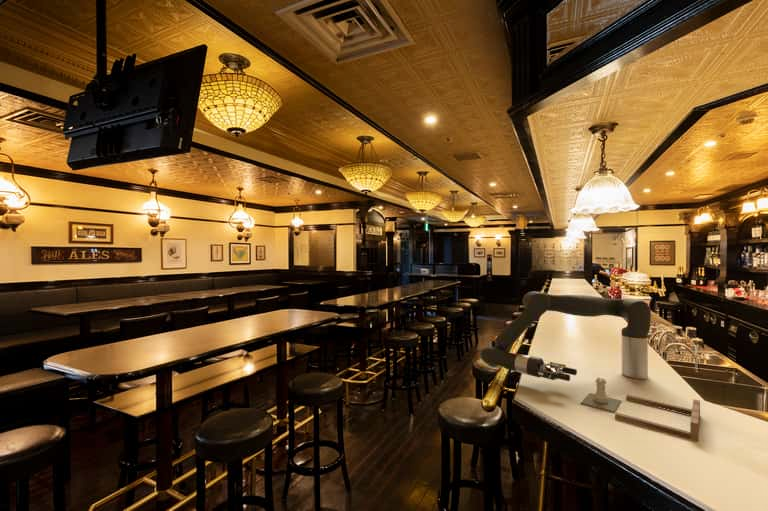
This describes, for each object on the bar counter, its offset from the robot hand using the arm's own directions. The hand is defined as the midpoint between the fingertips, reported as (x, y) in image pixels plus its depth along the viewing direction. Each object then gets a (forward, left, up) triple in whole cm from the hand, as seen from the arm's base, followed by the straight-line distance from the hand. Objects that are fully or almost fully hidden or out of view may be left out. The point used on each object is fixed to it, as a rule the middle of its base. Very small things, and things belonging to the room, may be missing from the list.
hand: (573, 375), depth 127 cm
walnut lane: (0, +24, -8) cm, 25 cm away
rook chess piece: (0, +9, -7) cm, 12 cm away
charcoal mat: (0, +9, -8) cm, 12 cm away
